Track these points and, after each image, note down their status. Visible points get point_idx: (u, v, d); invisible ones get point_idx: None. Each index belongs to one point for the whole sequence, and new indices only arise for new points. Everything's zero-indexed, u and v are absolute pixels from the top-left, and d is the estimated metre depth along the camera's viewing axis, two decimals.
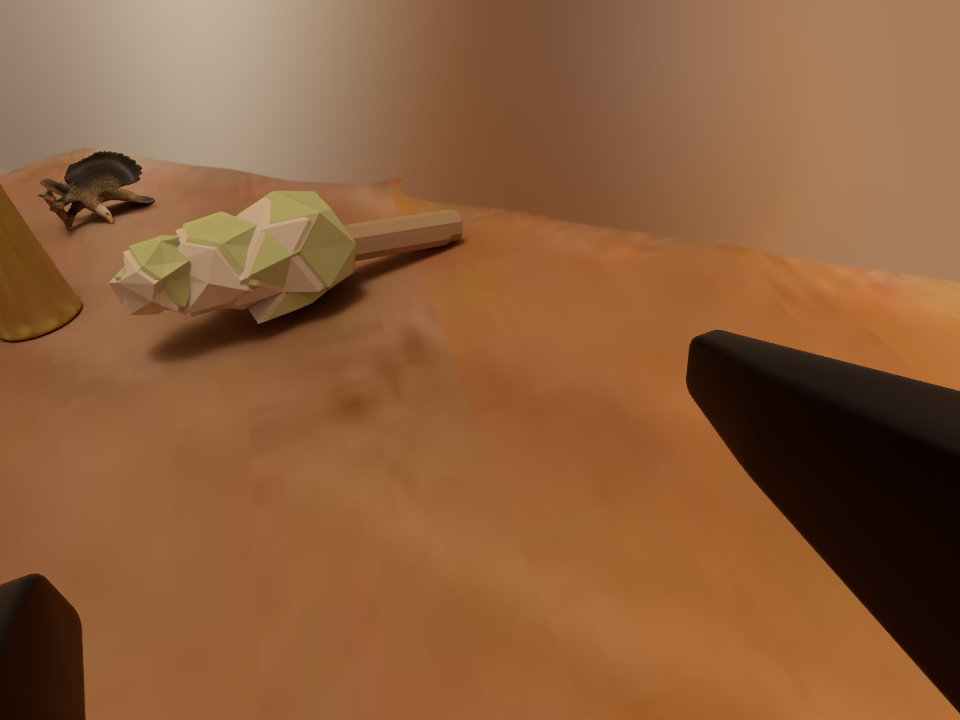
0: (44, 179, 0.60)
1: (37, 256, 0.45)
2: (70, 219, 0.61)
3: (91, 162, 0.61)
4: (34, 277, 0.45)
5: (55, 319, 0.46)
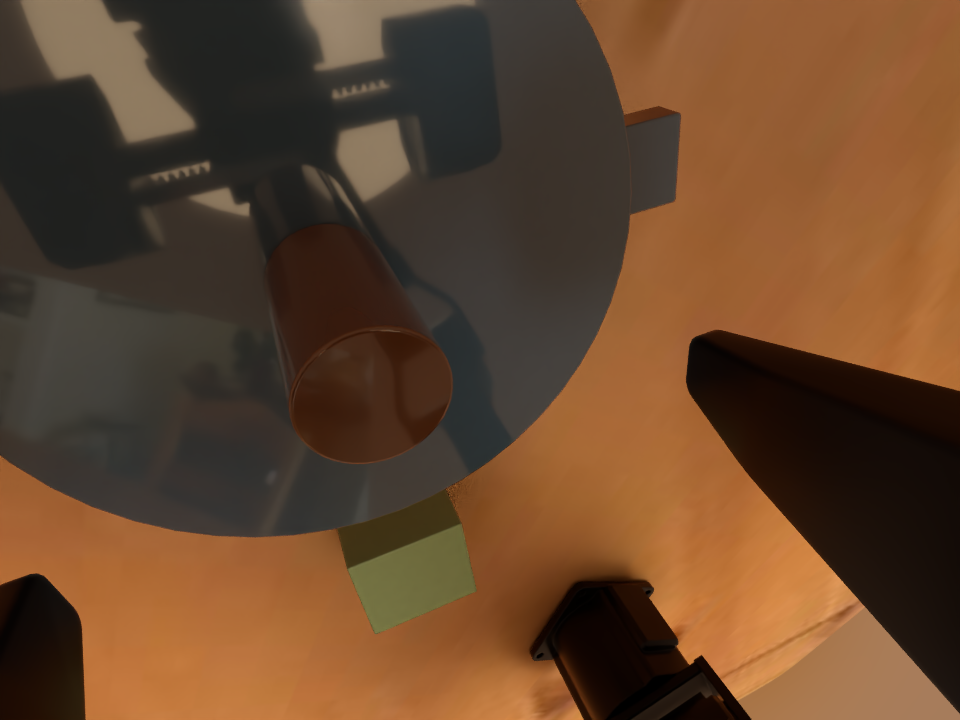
0: None
1: None
2: None
3: None
4: None
5: None
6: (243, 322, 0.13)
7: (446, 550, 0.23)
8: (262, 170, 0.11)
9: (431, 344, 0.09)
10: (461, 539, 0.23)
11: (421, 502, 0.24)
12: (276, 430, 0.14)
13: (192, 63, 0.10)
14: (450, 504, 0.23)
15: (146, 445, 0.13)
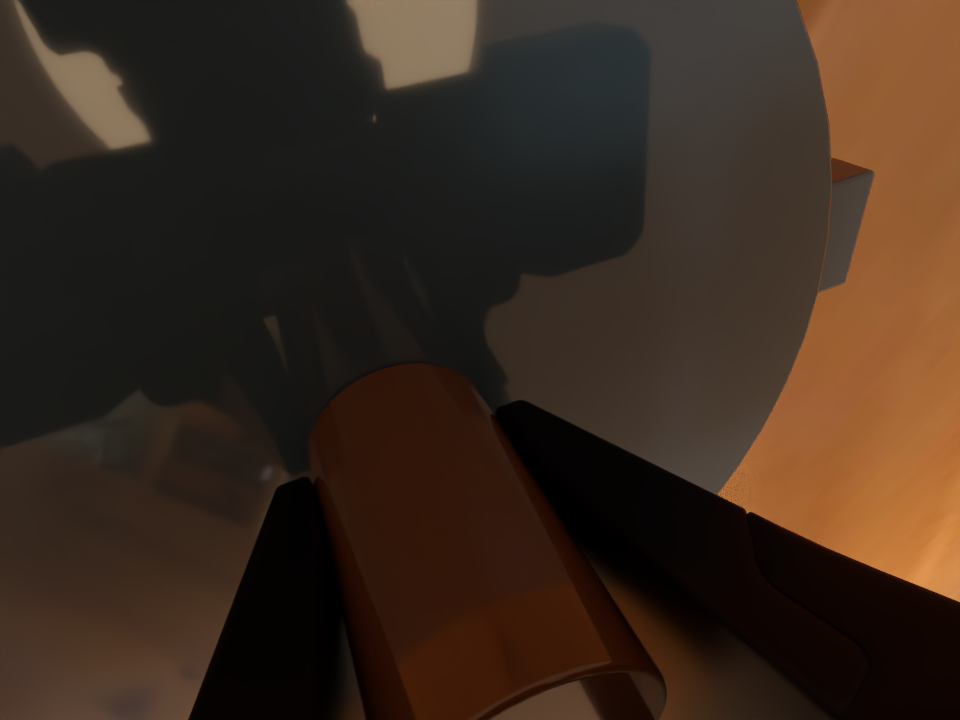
0: None
1: None
2: None
3: None
4: None
5: None
6: None
7: None
8: (312, 295, 0.07)
9: (649, 674, 0.05)
10: None
11: None
12: None
13: (201, 135, 0.06)
14: None
15: (127, 672, 0.09)
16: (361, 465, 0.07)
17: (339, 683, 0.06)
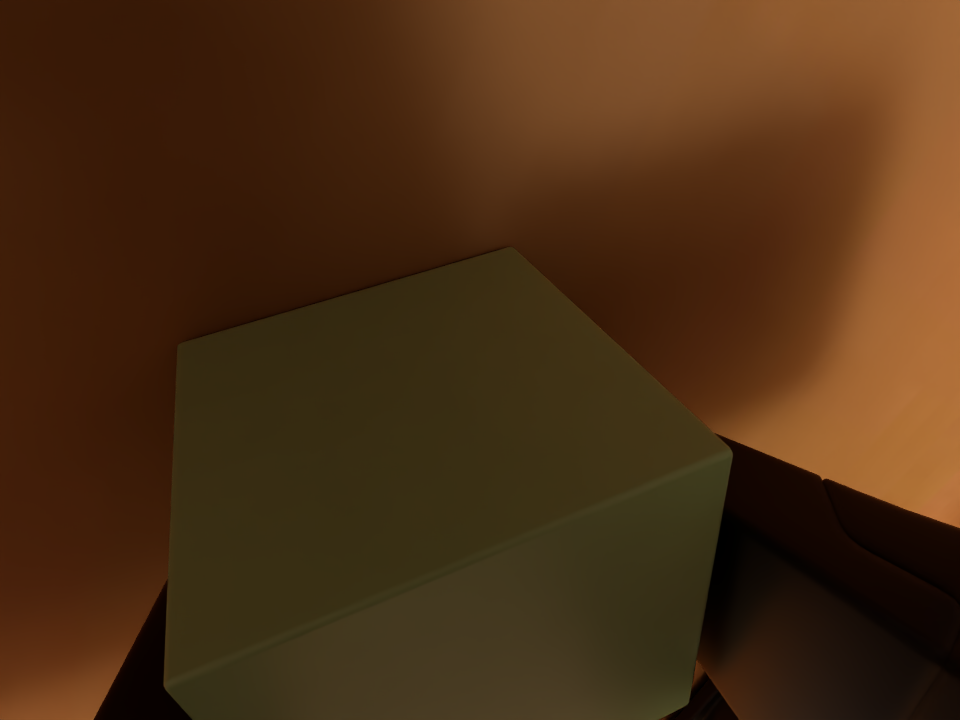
0: None
1: None
2: None
3: None
4: None
5: None
6: None
7: (645, 571, 0.05)
8: None
9: None
10: (710, 525, 0.05)
11: (523, 377, 0.06)
12: None
13: None
14: (649, 380, 0.06)
15: None
16: None
17: None
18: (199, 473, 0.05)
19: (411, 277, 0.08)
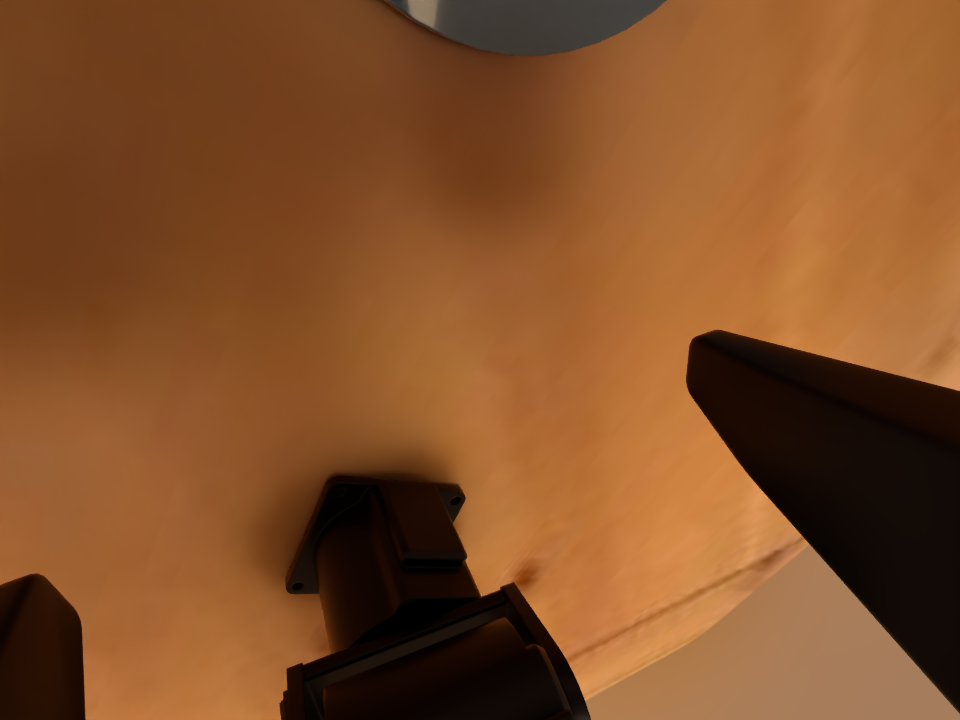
0: None
1: None
2: None
3: None
4: None
5: None
6: None
7: None
8: None
9: None
10: None
11: None
12: None
13: None
14: None
15: None
16: None
17: None
18: None
19: None
